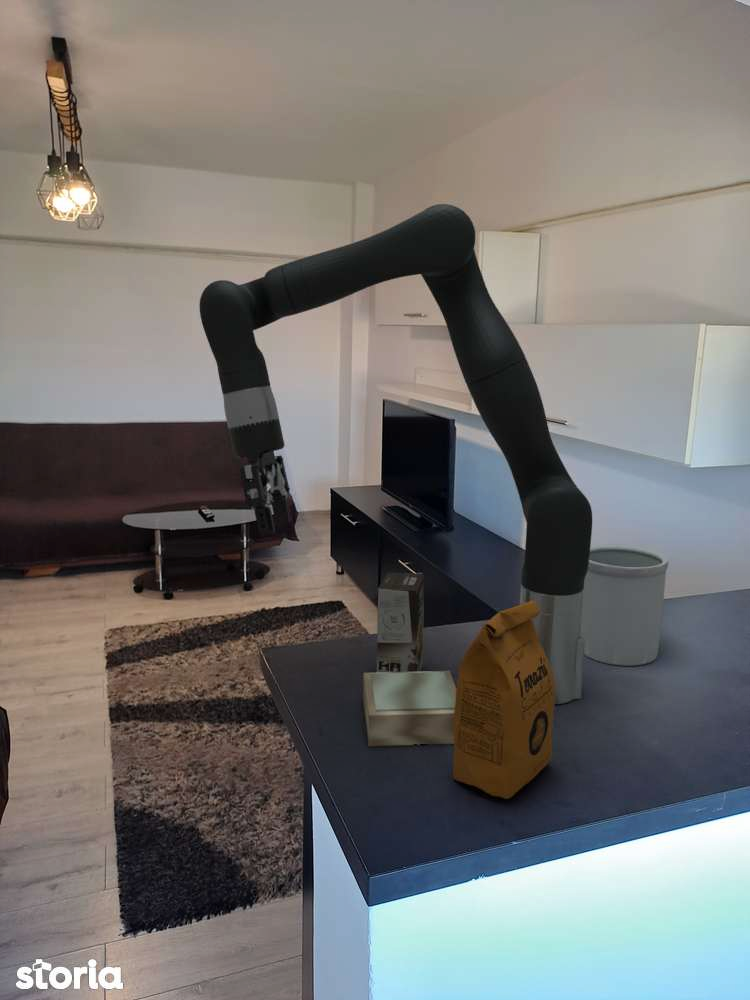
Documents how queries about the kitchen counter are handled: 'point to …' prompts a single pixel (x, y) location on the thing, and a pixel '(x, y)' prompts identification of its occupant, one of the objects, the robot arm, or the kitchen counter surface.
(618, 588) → the utensil holder
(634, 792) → the kitchen counter surface
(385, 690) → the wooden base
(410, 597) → the coffee box
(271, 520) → the robot arm
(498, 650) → the coffee package
